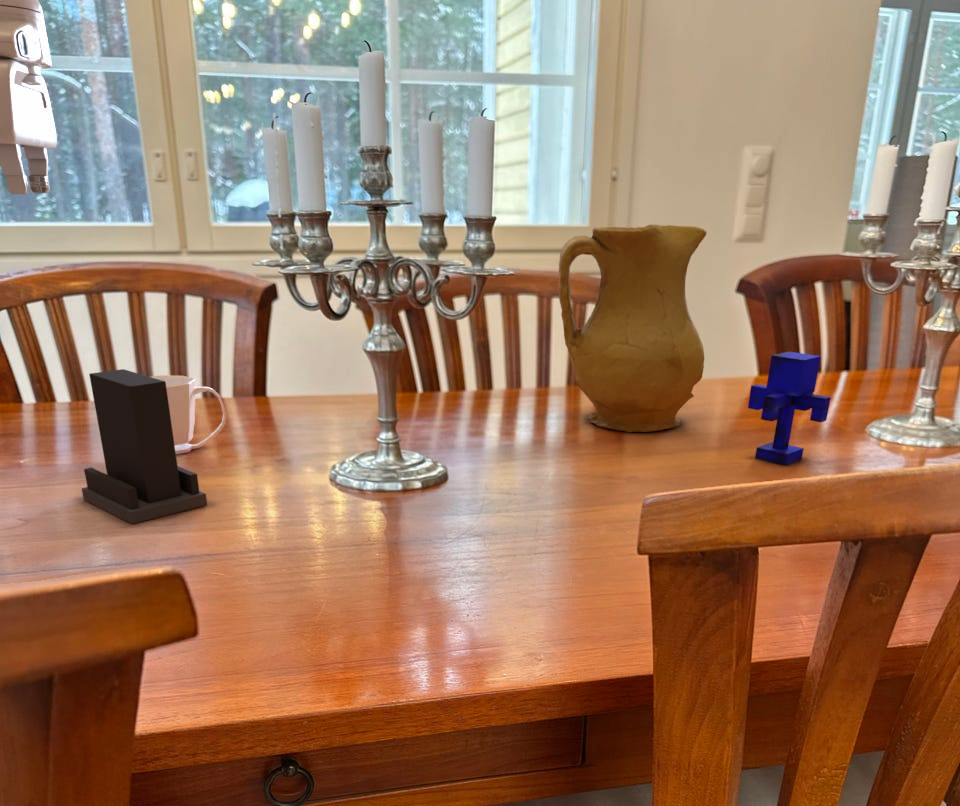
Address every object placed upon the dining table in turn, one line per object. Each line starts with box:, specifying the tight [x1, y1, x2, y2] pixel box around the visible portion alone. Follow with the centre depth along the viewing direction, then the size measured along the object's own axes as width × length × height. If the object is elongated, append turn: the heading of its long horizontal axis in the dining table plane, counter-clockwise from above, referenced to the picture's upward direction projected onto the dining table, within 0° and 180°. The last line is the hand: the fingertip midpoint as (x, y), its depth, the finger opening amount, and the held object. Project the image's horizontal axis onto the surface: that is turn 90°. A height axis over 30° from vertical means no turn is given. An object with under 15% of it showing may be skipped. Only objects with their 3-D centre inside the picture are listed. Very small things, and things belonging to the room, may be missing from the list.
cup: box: [151, 374, 227, 455], centre depth 105 cm, size 7×10×8 cm
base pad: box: [81, 465, 208, 525], centre depth 89 cm, size 8×10×3 cm
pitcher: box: [558, 223, 707, 433], centre depth 118 cm, size 17×19×25 cm
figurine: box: [747, 351, 832, 466], centre depth 105 cm, size 8×8×12 cm
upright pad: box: [88, 368, 181, 503], centre depth 86 cm, size 4×8×11 cm, turn 47°
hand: (30, 193), depth 99 cm, fingers open, 8 cm apart
